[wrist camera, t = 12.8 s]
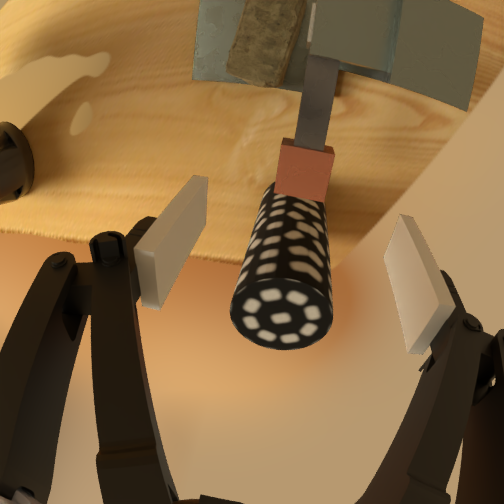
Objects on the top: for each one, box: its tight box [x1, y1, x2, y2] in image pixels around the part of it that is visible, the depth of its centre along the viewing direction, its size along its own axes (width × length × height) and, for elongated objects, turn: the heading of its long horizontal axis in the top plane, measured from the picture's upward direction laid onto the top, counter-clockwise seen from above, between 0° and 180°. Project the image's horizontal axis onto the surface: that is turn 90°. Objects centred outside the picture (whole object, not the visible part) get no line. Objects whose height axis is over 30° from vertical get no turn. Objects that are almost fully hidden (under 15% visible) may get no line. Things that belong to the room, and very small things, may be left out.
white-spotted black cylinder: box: [230, 181, 333, 350], centre depth 33 cm, size 8×8×20 cm
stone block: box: [226, 0, 307, 88], centre depth 26 cm, size 6×12×5 cm, turn 165°
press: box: [192, 0, 484, 112], centre depth 20 cm, size 20×12×24 cm, turn 83°
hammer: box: [274, 3, 340, 202], centre depth 20 cm, size 4×13×9 cm, turn 173°
